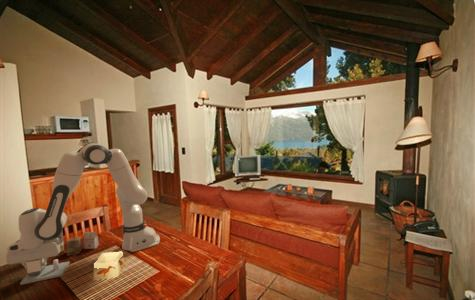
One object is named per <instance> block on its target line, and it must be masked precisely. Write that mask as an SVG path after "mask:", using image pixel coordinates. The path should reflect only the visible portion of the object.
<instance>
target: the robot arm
mask: <svg viewBox="0 0 475 300" xmlns="http://www.w3.org/2000/svg"><path fill="white" fill-rule="evenodd" d="M88 164H91V165H97V166H99V165H106V167H107V169H108V171H109V174H110V175H111V177H112V180H113V182H114V184H116V185H117V188H116V190H115V194H116V196H117V198H118V201H119V204H120V208H121V213H122V223H123V224H122V234H123V239H122V245H121V248H122V250H125V251H129V252H131V253H134V252H138V251H141V250H146V249H148V248H150V247H154V246H157V245H159V243H160V242H161V238H160V235H159V234H158V233H156V231H155V229H154V228H152V227H150V226H148V224H147V222H146V220H143V219H144V218H143V209H142V207H141V206H140V205H143V204H144V203H145V202H146V201H147V200H148V192H147V190H146V189H145V188H144V187H143V186H142V184H141V182H140V181H139V180H138V178H137V177H136V175H135V173H134V171H133V169H132V167H131V165H130V162H129V160H128V158H127V157H126V155H125V154H124V152H123V151H122V149H120V148H111V149H108V148H107V147H105V146H103V144H100V143H98V142H88V143H86V144H84V145H83V146H82V147H81V148H79V150H77V151H68V152H66V153H64V154H63V155H62V157H61V158H60V161H59V162H58V165H57V167H56V170H55V174H54V177H53V184H52V190H51V195H50V200H49V203H48V205H47V209H42V208H40V207H33V208H30V209H27V210H25V211H23V212H22V213H21V214H20V215H18V231H19V233H20V237H19V239H17V240H15V241H13V242H12V243H10V244H9V245H8V246H7V247H6V250H7V251H6V254H5V263H6V264H7V265H14V264H21V265H22V266H23V267H24V270H25V271H27V265H26V263H27V261H31V260H36V259H41V258H43V259H44V260H45V261H43V262H42V263H41V265H42V266H47V264H48V263H47V261H48V259H49V258H51V257H56V256H58V255H59V254H60V251H61V249H60V245H59V244H60V241H59V239H58V238H56V237H58V236H59V235H60V234H61V232H62V231H63V228H64V227H65V225H66V223H67V222H68V216H67V214H66V213H65V212H64V210H65V207H66V204H67V201H68V199H69V198H70V196H71V194H72V193H73V192H74V190H76V188H77V187H78V186H79V184H80V182H81V179H82V175H83V173H84V169H85V168H86V166H87V165H88Z"/></svg>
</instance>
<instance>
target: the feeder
mask: <svg viewBox="0 0 475 300" xmlns="http://www.w3.org/2000/svg"><path fill="white" fill-rule="evenodd" d="M82 249H83V248H82V238H81V236H76V237H71V238H68V239H67V240H66V251H67V253H66V256H72V255H77V254H81V251H82Z"/></svg>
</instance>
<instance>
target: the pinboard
mask: <svg viewBox="0 0 475 300" xmlns="http://www.w3.org/2000/svg"><path fill="white" fill-rule="evenodd" d="M70 262H71V261H65V262H59V259H58V258H56V259H53V260H52V264H49V265H46V266H45V269H44V270H43V271H42V272H41V274H36V275H31V276H28V274H27V273H26V275H25V277H23V278H22V280H21V281H20V282H19V284H20V286H21V285H26V284H31V283H36V282H41V281H45V280H49V279H55V278H59V277H62V276H63V275H64V274H65V272H66V270H67V268H68V266H69V265H70ZM64 271H65V272H64Z"/></svg>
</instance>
